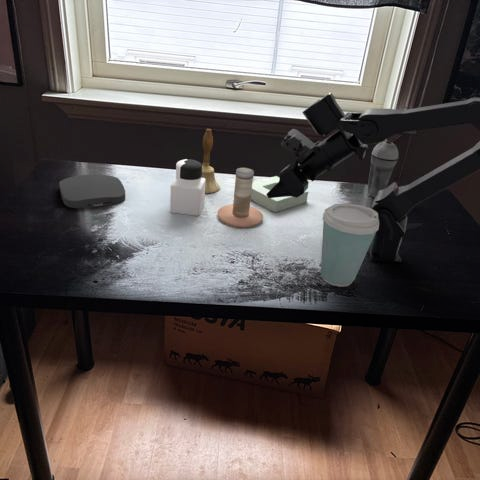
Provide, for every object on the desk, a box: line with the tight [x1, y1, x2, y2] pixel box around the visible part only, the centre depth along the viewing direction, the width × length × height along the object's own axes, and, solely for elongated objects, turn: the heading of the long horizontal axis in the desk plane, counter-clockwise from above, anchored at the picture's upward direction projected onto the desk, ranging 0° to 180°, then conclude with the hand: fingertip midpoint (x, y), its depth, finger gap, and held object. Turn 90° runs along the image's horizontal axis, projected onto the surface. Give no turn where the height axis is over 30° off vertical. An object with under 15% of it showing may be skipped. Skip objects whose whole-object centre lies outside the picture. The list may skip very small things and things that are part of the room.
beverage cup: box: [366, 139, 399, 198], centre depth 129 cm, size 7×7×20 cm
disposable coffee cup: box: [320, 202, 379, 288], centre depth 91 cm, size 11×11×15 cm
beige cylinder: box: [232, 167, 255, 218], centre depth 111 cm, size 4×4×11 cm
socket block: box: [251, 175, 309, 213], centre depth 125 cm, size 12×12×3 cm
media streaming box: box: [58, 173, 126, 209], centre depth 117 cm, size 15×15×3 cm
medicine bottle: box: [169, 158, 206, 217], centre depth 112 cm, size 7×7×12 cm
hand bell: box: [202, 128, 221, 194], centre depth 124 cm, size 8×8×16 cm
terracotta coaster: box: [217, 203, 264, 229], centre depth 114 cm, size 11×11×1 cm
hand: (274, 189), depth 107 cm, fingers open, 9 cm apart
